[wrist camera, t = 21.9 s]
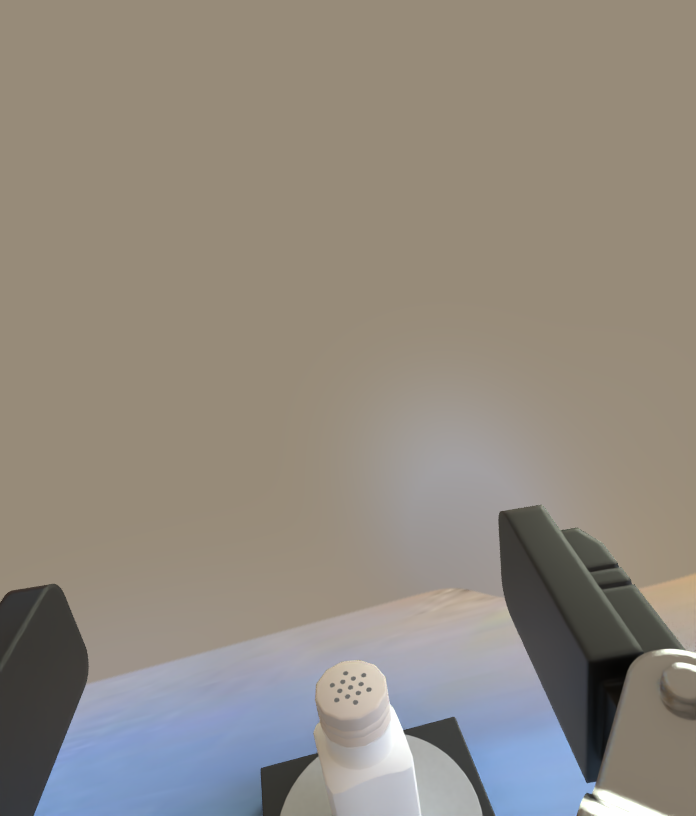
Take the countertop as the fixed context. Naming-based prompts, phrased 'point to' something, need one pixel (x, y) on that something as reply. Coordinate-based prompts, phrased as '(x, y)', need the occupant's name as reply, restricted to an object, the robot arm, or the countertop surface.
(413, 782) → the salt shaker
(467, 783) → the scale
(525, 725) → the countertop surface
